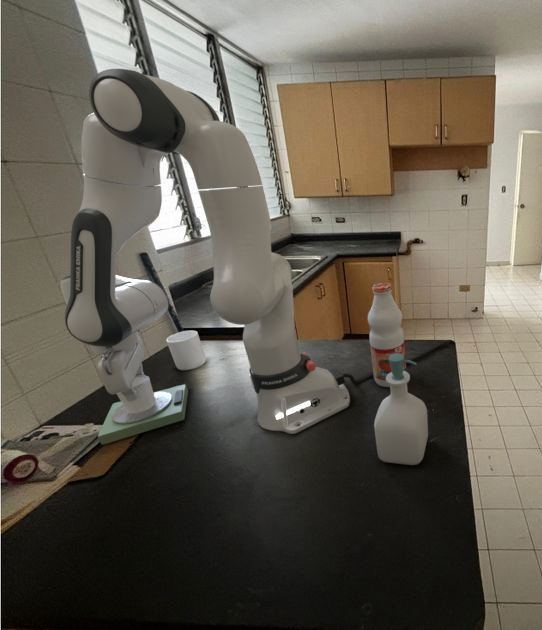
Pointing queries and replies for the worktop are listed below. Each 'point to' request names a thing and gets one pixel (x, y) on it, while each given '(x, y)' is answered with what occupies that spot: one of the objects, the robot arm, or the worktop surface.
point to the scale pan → (127, 418)
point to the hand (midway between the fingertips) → (137, 389)
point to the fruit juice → (384, 332)
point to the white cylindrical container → (140, 395)
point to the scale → (165, 417)
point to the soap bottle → (401, 419)
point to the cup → (186, 350)
